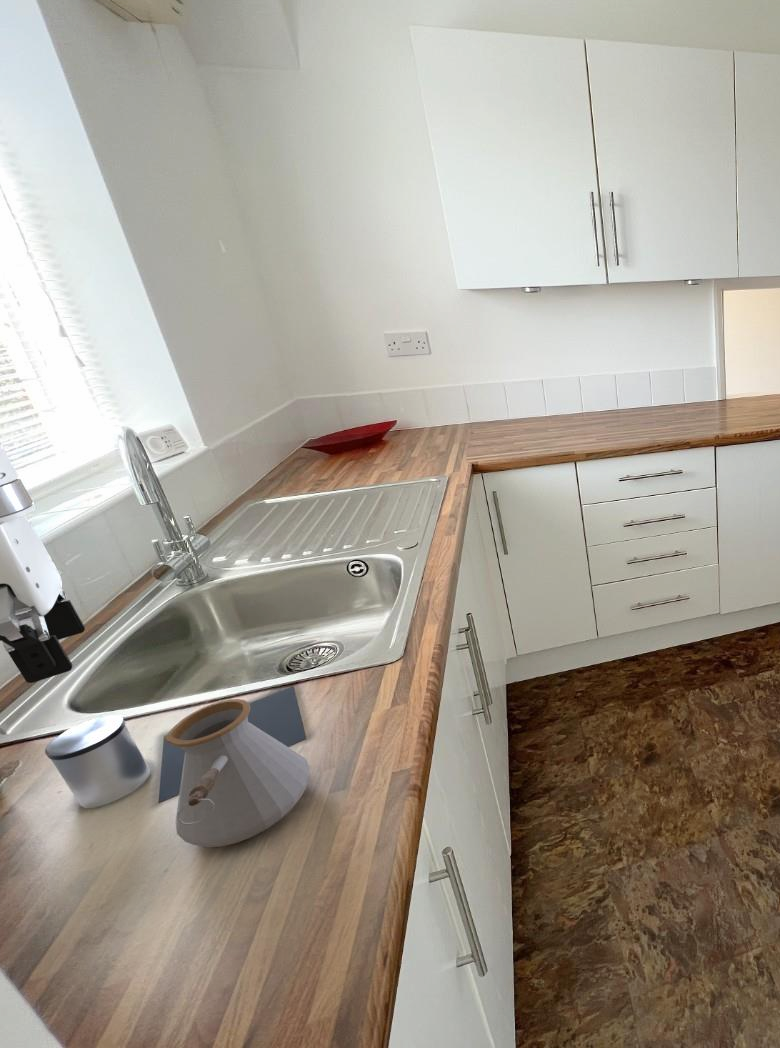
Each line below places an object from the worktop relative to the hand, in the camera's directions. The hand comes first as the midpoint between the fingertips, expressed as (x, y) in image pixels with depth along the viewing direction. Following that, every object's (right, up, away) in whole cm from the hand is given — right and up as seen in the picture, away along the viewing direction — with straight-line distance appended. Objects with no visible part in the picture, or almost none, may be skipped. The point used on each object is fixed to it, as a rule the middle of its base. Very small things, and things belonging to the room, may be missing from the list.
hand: (59, 655), depth 62 cm
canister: (+1, -17, +5) cm, 18 cm away
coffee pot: (+23, -19, -3) cm, 30 cm away
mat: (+9, -14, +12) cm, 20 cm away
